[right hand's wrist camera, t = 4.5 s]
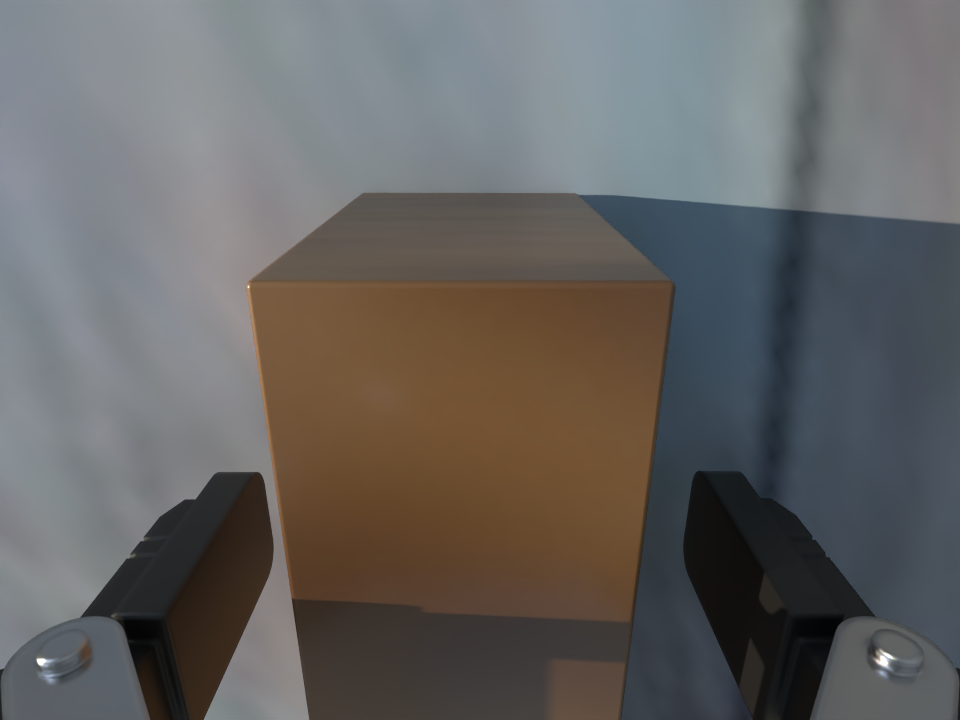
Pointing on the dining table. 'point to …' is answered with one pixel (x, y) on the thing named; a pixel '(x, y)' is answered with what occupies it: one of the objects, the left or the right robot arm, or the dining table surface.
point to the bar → (463, 452)
